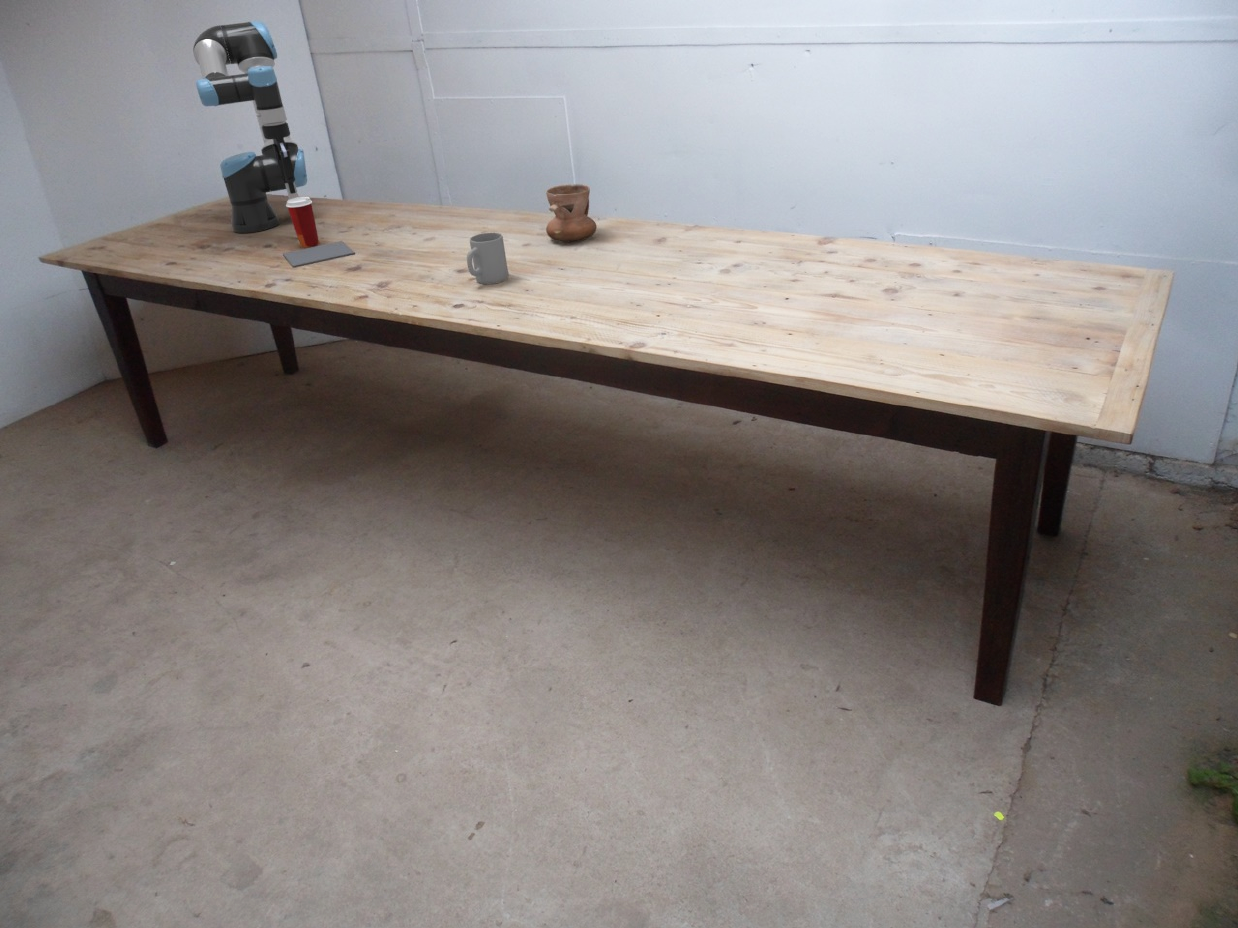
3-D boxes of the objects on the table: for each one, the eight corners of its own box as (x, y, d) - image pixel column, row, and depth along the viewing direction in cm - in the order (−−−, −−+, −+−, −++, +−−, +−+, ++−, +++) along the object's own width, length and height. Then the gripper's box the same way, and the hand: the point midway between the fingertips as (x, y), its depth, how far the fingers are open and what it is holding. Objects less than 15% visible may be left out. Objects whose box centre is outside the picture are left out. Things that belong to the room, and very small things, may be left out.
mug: (490, 272, 242) (484, 231, 236) (515, 275, 237) (509, 234, 232) (460, 286, 234) (452, 244, 228) (485, 290, 229) (478, 247, 224)
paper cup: (326, 240, 284) (315, 195, 277) (317, 248, 277) (305, 202, 270) (302, 242, 285) (290, 197, 278) (292, 249, 278) (280, 203, 271)
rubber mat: (283, 255, 274) (282, 253, 273) (342, 242, 280) (342, 240, 280) (293, 267, 261) (293, 266, 261) (355, 254, 268) (354, 252, 268)
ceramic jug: (576, 249, 253) (571, 197, 246) (534, 244, 260) (529, 194, 253) (611, 232, 266) (607, 183, 259) (570, 228, 273) (566, 179, 266)
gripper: (257, 123, 273) (279, 202, 285) (264, 128, 263) (286, 209, 275) (283, 119, 276) (303, 197, 288) (291, 123, 266) (311, 205, 277)
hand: (295, 203), depth 281 cm, fingers closed
